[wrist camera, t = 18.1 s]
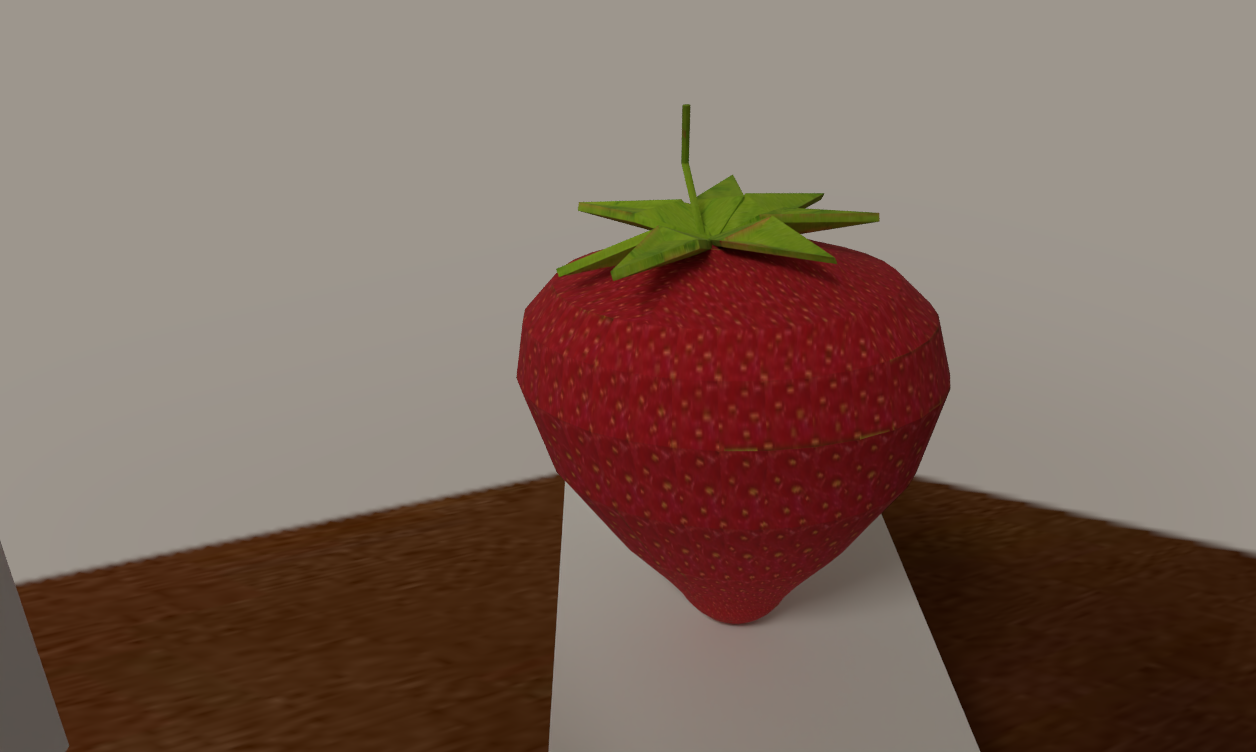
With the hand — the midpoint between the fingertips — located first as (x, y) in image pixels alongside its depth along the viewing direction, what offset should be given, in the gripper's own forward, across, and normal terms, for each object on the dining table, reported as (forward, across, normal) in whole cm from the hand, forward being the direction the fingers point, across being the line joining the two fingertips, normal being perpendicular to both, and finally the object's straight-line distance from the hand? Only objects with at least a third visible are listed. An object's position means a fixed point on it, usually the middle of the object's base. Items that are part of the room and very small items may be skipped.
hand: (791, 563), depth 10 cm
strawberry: (+10, 0, -8) cm, 13 cm away
